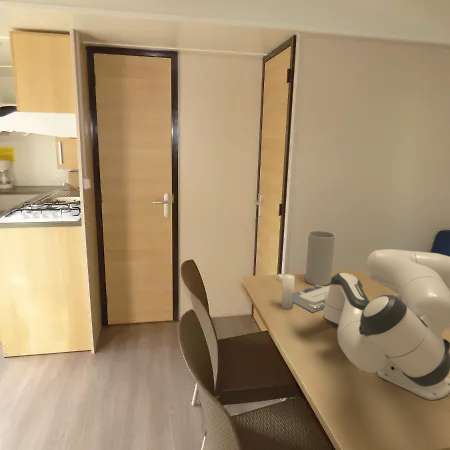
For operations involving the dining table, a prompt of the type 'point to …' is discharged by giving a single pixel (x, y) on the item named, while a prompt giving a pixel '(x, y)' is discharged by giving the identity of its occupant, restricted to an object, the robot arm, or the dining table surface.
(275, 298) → the dining table surface
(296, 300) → the slate plate
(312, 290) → the collar
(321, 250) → the cylinder vase
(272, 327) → the dining table surface
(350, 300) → the robot arm
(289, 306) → the cream peg
